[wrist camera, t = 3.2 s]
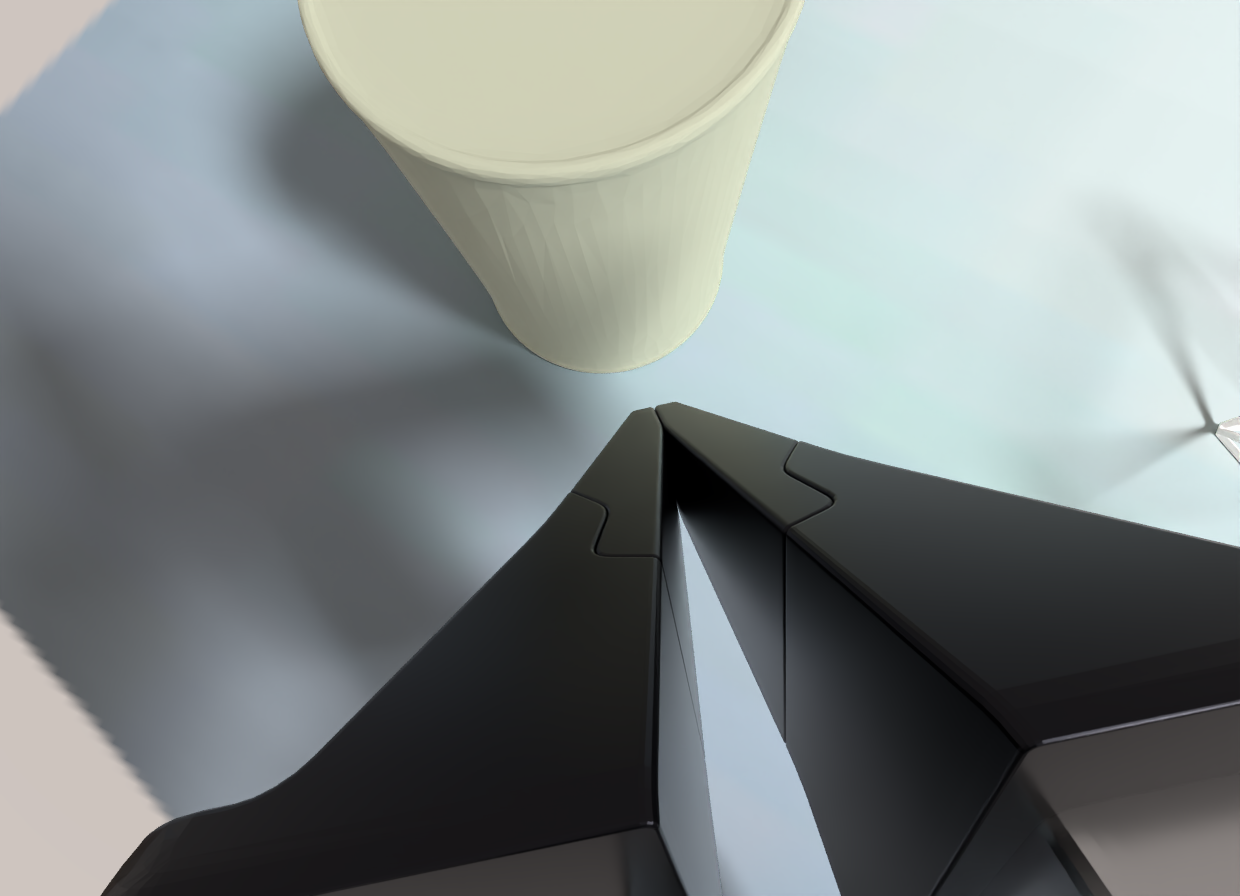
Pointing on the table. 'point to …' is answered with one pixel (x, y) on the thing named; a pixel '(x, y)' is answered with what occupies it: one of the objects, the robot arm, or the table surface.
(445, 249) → the table surface
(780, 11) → the can
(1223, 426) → the geometric polyhedron
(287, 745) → the table surface
